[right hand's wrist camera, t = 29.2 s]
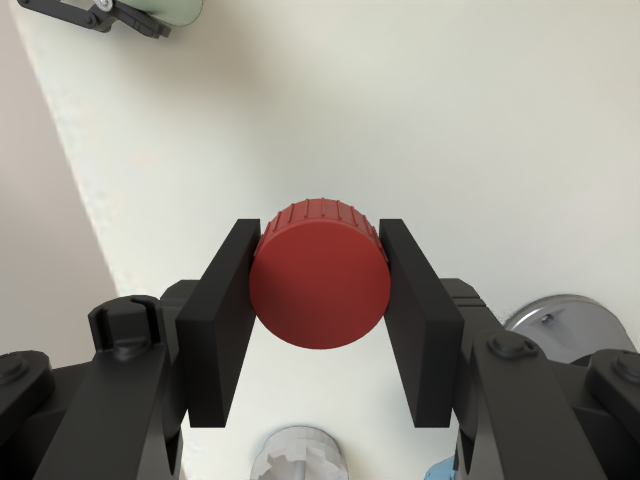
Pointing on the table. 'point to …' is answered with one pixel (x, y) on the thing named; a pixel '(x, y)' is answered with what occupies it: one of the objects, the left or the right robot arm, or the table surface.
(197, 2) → the bottle
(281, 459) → the flag stand
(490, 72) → the table surface
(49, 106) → the table surface
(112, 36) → the table surface
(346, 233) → the cap
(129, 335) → the right robot arm
